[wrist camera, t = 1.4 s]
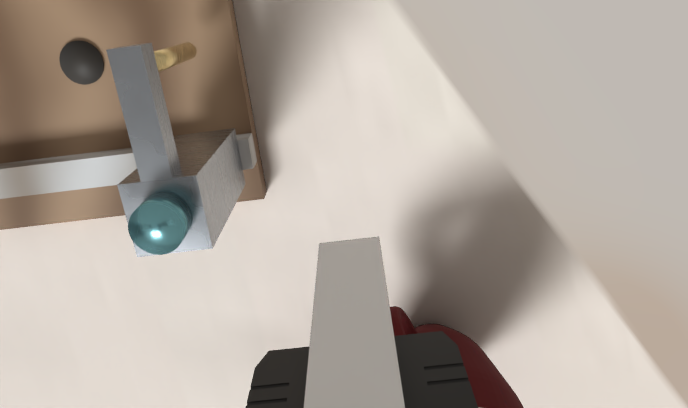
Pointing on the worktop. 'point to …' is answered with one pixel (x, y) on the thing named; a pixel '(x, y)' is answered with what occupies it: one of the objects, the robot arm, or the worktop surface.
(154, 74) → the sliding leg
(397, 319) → the mug
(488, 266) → the worktop surface
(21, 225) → the brown wooden board
